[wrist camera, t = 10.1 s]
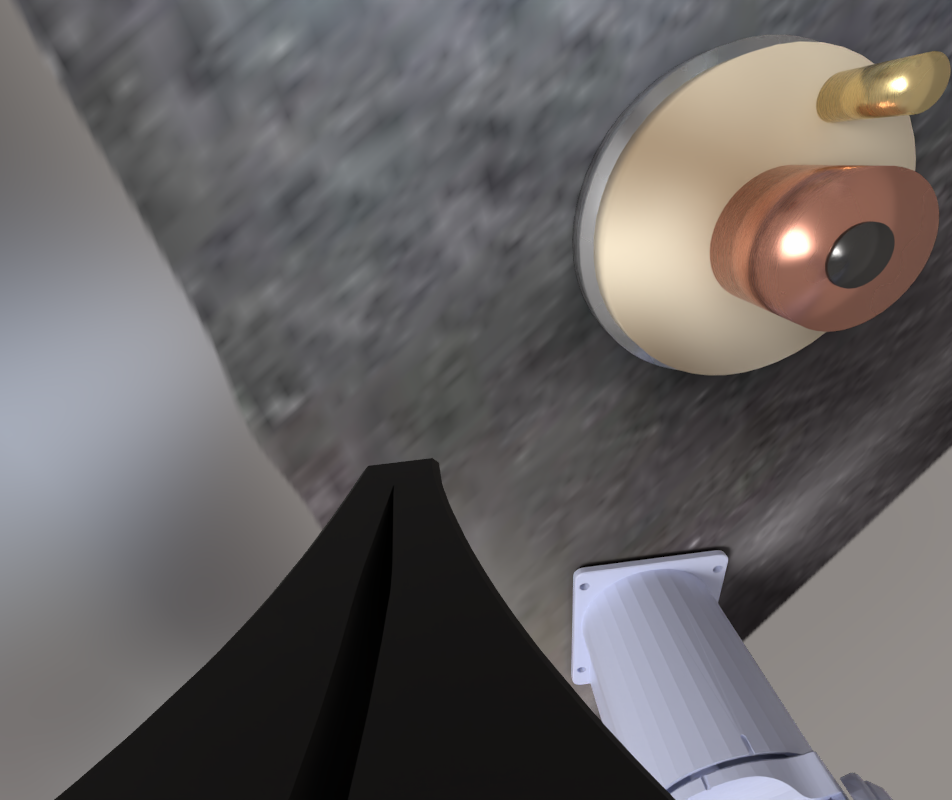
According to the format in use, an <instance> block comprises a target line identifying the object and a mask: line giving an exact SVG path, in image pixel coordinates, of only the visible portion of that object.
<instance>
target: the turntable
mask: <svg viewBox="0 0 952 800" xmlns="http://www.w3.org/2000/svg"><path fill="white" fill-rule="evenodd" d="M950 71H951V70H950V62H949V60H948V58H947V56H946V55H945V54H943V53H941V52H938V51H933V52H927V53H923V54H918V55H914V56H909V57H905V58H900V59H895V60H891V61H886V62H882V63H877V64H874V63H872V62H871V61H869V60H868V59H867V58H865V57H864V56H862V55H860V54H858V53H856V52H853V51H851V50H849V49H847V48H844V47H841V46H836V45H832V44H828V43H823V42H801V41H800V42H792V43H785V44H777V45H773V46H770V47H767V48H763V49H760V50H756V51H753V52H750V53H747V54H744V55H741V56H738V57H735V58H732V59H729V60H727V61H724V62H722V63H720V64H718V65H715V66H713V67H711V68H709V69H706V70H705V71H703V72H701V73H700V74H698V75H696V76H695V77H693V78H692V79H690V80H688V81H687V82H685V83H684V84H682V85H681V86H680V87H679V88H677V89H676V90H675V91H674V92H672V93H671V94H670V95H669V96H667V97H666V98H665V99H664V100H663V101H662V102H661V103H660V104H659V105H658V106H657V107H656V108H655V109H654V110H653V111H652V112H651V113H650V114H649V115H648V116H647V117H646V119H645V120H644V121H643V122H642V124H641V125H640V126H639V127H638V129H637V130H636V131H635V132H634V134H633V135H632V136H631V138H630V140H629V141H628V143H627V144H626V146H625V147H624V149H623V151H622V152H621V154H620V155H619V157H618V159H617V161H616V163H615V165H614V167H613V169H612V171H611V173H610V175H609V178H608V181H607V183H606V186H605V189H604V192H603V194H602V197H601V201H600V205H599V209H598V213H597V217H596V224H595V232H594V266H595V274H596V279H597V283H598V286H599V290H600V294H601V296H602V298H603V301H604V303H605V305H606V308H607V310H608V311H609V313H610V315H611V316H612V318H613V319H614V321H615V323H616V324H617V325H618V326H619V327H620V328H621V330H622V331H623V332H624V333H625V334H626V335H627V336H628V337H629V338H630V339H632V340H633V341H634V342H635V343H636V344H637V345H638V346H639V347H641V348H642V349H643V350H644V351H645V352H647V353H648V354H649V355H650V356H652V357H653V358H655V359H657V360H658V361H660V362H661V363H663V364H665V365H668V366H670V367H673V368H675V369H677V370H681V371H685V372H689V373H693V374H702V375H729V374H736V373H743V372H747V371H751V370H755V369H759V368H762V367H765V366H767V365H770V364H772V363H775V362H778V361H780V360H782V359H784V358H786V357H788V356H790V355H792V354H794V353H796V352H798V351H799V350H801V349H802V348H804V347H806V346H807V345H809V344H811V343H812V342H814V341H815V340H816V339H818V338H819V337H820V336H822V335H823V334H824V333H826V332H823V331H815V330H811V329H807V328H805V327H803V326H801V325H798V324H796V323H794V322H792V321H789V320H787V319H785V318H783V317H780V316H778V315H776V314H774V313H771V312H769V311H767V310H765V309H762V308H760V307H758V306H756V305H753V304H751V303H749V302H747V301H744V300H742V299H740V298H738V297H735V296H733V295H731V294H730V293H728V292H727V291H725V290H724V289H723V288H722V287H721V286H720V284H719V283H718V282H717V280H716V278H715V276H714V274H713V271H712V268H711V263H710V243H711V238H712V234H713V230H714V227H715V225H716V222H717V220H718V218H719V216H720V214H721V212H722V211H723V209H724V207H725V206H726V204H727V203H728V202H729V200H730V199H731V198H732V197H733V196H734V194H735V193H736V192H737V191H738V190H739V189H740V188H741V187H742V186H744V185H745V184H746V183H747V182H749V181H750V180H751V179H753V178H754V177H756V176H757V175H759V174H761V173H763V172H765V171H767V170H770V169H772V168H776V167H779V166H784V165H872V166H899V167H905V168H908V169H911V170H913V171H915V164H916V154H915V139H914V134H913V129H912V124H911V120H910V116H909V115H914V114H919V113H921V112H924V111H925V110H927V109H929V108H930V107H931V106H932V105H934V104H935V103H936V102H937V100H938V99H939V98H940V97H941V95H942V94H943V92H944V90H945V88H946V86H947V84H948V81H949V78H950Z"/></svg>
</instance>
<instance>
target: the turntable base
mask: <svg viewBox="0 0 952 800" xmlns="http://www.w3.org/2000/svg"><path fill="white" fill-rule="evenodd" d="M800 41H801V42H818V41H815V40H812V39H810V38H804V37H798V36H793V35H762V36H756V37H750V38H744V39H740V40H737V41H734V42H731V43H728V44H725V45H722V46H719V47H716V48H714V49H711V50H709V51H706V52H704V53H701V54H699V55H697V56H695V57H693V58H691V59H689V60H687V61H685V62H683V63H681V64H679V65H677V66H676V67H674V68H673V69H671V70H670V71H668V72H667V73H665V74H664V75H662V76H661V77H659V78H658V79H657V80H655V81H654V82H653V83H652V84H651V85H650V86H648V87H647V88H646V89H645V90H644V91H643V92H641V93H640V94H639V95H638V96H637V97H636V98H635V99H634V100H633V101H632V103H631V104H630V105H629V106H628V107H627V108H626V109H625V110H624V111H623V112H622V113H621V115H620V116H619V117H618V119H617V120H616V122H615V123H614V124H613V126H612V127H611V128H610V130H609V131H608V132H607V134H606V136H605V137H604V139H603V141H602V142H601V144H600V146H599V148H598V149H597V151H596V153H595V155H594V157H593V159H592V161H591V164H590V166H589V168H588V170H587V173H586V175H585V178H584V181H583V184H582V187H581V190H580V193H579V197H578V201H577V206H576V211H575V216H574V225H573V239H572V242H573V261H574V266H575V272H576V277H577V281H578V284H579V287H580V290H581V293H582V296H583V298H584V300H585V302H586V304H587V306H588V308H589V310H590V311H591V313H592V314H593V316H594V317H595V318H596V320H597V321H598V323H599V324H600V325H601V326H602V327H603V328H604V329H605V330H606V331H607V332H608V333H609V334H610V335H611V336H612V337H613V338H614V339H615V340H616V341H617V342H618V343H619V344H620V345H621V346H623V347H624V348H625V349H627V350H628V351H629V352H630V353H632V354H634V355H635V356H637V357H639V358H641V359H643V360H645V361H647V362H650V363H652V364H655V365H658V366H660V367H665V368H670V369H675V368H673V367H670V366H668V365H665V364H663V363H661V362H660V361H658V360H657V359H655V358H653V357H652V356H650V355H649V354H648V353H647V352H645V351H644V350H643V349H642V348H641V347H639V346H638V345H637V344H636V343H635V342H634V341H633V340H632V339H630V338H629V337H628V336H627V335H626V334H625V333H624V332H623V331H622V330H621V328H620V327H619V326H618V325H617V324H616V323H615V321H614V319H613V318H612V316H611V315H610V313H609V311H608V310H607V308H606V305H605V303H604V301H603V298H602V296H601V294H600V290H599V286H598V283H597V279H596V274H595V266H594V232H595V224H596V217H597V213H598V209H599V205H600V201H601V197H602V194H603V192H604V189H605V186H606V183H607V181H608V178H609V175H610V173H611V171H612V169H613V167H614V165H615V163H616V161H617V159H618V157H619V155H620V154H621V152H622V151H623V149H624V147H625V146H626V144H627V143H628V141H629V140H630V138H631V136H632V135H633V134H634V132H635V131H636V130H637V129H638V127H639V126H640V125H641V124H642V122H643V121H644V120H645V119H646V117H647V116H648V115H649V114H650V113H651V112H652V111H653V110H654V109H655V108H656V107H657V106H658V105H659V104H660V103H661V102H662V101H663V100H664V99H665V98H666V97H667V96H669V95H670V94H671V93H672V92H674V91H675V90H676V89H677V88H679V87H680V86H681V85H682V84H684V83H685V82H687V81H688V80H690V79H692V78H693V77H695V76H696V75H698V74H700V73H701V72H703V71H705V70H706V69H709V68H711V67H713V66H715V65H718V64H720V63H722V62H724V61H727V60H729V59H732V58H735V57H738V56H741V55H744V54H747V53H750V52H753V51H756V50H760V49H763V48H767V47H770V46H773V45H777V44H785V43H792V42H800ZM675 370H677V369H675Z"/></svg>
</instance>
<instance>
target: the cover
mask: <svg viewBox="0 0 952 800" xmlns="http://www.w3.org/2000/svg"><path fill="white" fill-rule="evenodd" d="M938 226H939V207H938V202H937V198H936V195H935V193H934V191H933V188H932V187H931V185H930V184H929V183H928V181H927V180H926V179H925V178H924V177H922V176H921V175H920V174H918V173H917V172H915V171H913V170H911V169H908V168H905V167H899V166H872V165H784V166H779V167H776V168H772V169H770V170H767V171H765V172H763V173H761V174H759V175H757V176H756V177H754V178H753V179H751V180H750V181H749V182H747V183H746V184H745V185H744V186H742V187H741V188H740V189H739V190H738V191H737V192H736V193H735V194H734V196H733V197H732V198H731V199H730V200H729V202H728V203H727V204H726V206H725V207H724V209H723V211H722V212H721V214H720V216H719V218H718V220H717V222H716V225H715V227H714V230H713V234H712V238H711V243H710V263H711V268H712V271H713V274H714V276H715V278H716V280H717V282H718V283H719V284H720V286H721V287H722V288H723V289H724V290H725V291H727V292H728V293H730V294H731V295H733V296H735V297H738V298H740V299H742V300H744V301H747V302H749V303H751V304H753V305H756V306H758V307H760V308H762V309H765V310H767V311H769V312H771V313H774V314H776V315H778V316H780V317H783V318H785V319H787V320H789V321H792V322H794V323H796V324H798V325H801V326H803V327H805V328H807V329H811V330H815V331H823V332H830V331H839V330H844V329H848V328H851V327H854V326H857V325H859V324H862V323H864V322H866V321H868V320H870V319H872V318H874V317H875V316H877V315H878V314H880V313H881V312H883V311H884V310H885V309H887V308H888V307H889V306H891V305H892V304H893V303H894V302H895V301H896V300H898V299H899V298H900V297H901V296H902V295H903V294H904V293H905V291H906V290H907V289H908V288H909V287H910V286H911V285H912V283H913V282H914V281H915V280H916V278H917V277H918V275H919V274H920V272H921V271H922V269H923V267H924V266H925V264H926V262H927V260H928V258H929V256H930V254H931V251H932V249H933V246H934V243H935V240H936V237H937V232H938Z"/></svg>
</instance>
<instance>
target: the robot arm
mask: <svg viewBox="0 0 952 800" xmlns="http://www.w3.org/2000/svg"><path fill="white" fill-rule="evenodd" d="M727 564H728V557H727V556H726V554H725V553H724V552H723V551H721V550H714V551H706V552H698V553H691V554H683V555H675V556H668V557H660V558H652V559H645V560H637V561H629V562H622V563H614V564H606V565H599V566H591V567H583V568H579V569H578V570H576V571H575V573H574V575H573V617H572V667H571V676H572V680H573V682H574V683H575V684H578V685H582V684H589V683H591V687H592V690H593V693H594V697H595V700H596V703H597V706H598V710H599V713H600V716H601V720H602V721H601V720H600V719H599V718H598V717H597V716H596V715H595V714H594V713H593V712H592V711H591V709H590V708H589V707H588V706H587V705H586V704H585V702H584V701H583V700H582V699H581V698H580V696H579V695H578V694H577V693H576V692H575V690H574V689H573V688H572V687H571V686H570V684H569V683H568V682H567V681H566V680H565V679H564V677H563V676H562V675H561V674H560V673H559V671H558V670H557V669H556V668H555V667H554V665H553V664H552V663H551V662H550V661H549V660H548V658H547V657H546V656H545V655H544V654H543V652H542V651H541V650H540V649H539V647H538V646H537V645H536V644H535V642H534V641H533V640H532V638H531V637H530V636H529V634H528V633H527V632H526V630H525V629H524V628H523V626H522V625H521V624H520V622H519V621H518V620H517V618H516V617H515V615H514V614H513V613H512V611H511V610H510V608H509V607H508V606H507V604H506V603H505V601H504V600H503V598H502V597H501V596H500V594H499V593H498V591H497V590H496V588H495V586H494V585H493V583H492V582H491V580H490V579H489V577H488V576H487V574H486V572H485V571H484V569H483V567H482V566H481V564H480V562H479V561H478V559H477V557H476V556H475V554H474V552H473V551H472V549H471V547H470V545H469V543H468V541H467V540H466V538H465V536H464V534H463V532H462V530H461V528H460V526H459V524H458V522H457V520H456V518H455V515H454V513H453V511H452V509H451V507H450V504H449V502H448V499H447V497H446V494H445V491H444V488H443V485H442V481H441V474H440V468H439V463H438V462H437V461H435V460H434V459H433V458H431V459H422V460H414V461H406V462H397V463H389V464H381V465H372V466H368V467H367V468H366V469H365V471H364V472H363V473H362V475H361V476H360V478H359V479H358V480H357V482H356V483H355V485H354V486H353V488H352V489H351V491H350V492H349V494H348V495H347V497H346V498H345V500H344V501H343V502H342V504H341V505H340V507H339V508H338V510H337V511H336V512H335V514H334V515H333V517H332V518H331V519H330V521H329V522H328V523H327V525H326V526H325V527H324V529H323V530H322V531H321V533H320V534H319V536H318V537H317V538H316V540H315V541H314V542H313V544H312V545H311V546H310V548H309V549H308V551H307V552H306V553H305V554H304V555H303V557H302V558H301V559H300V560H299V561H298V563H297V564H296V565H295V566H294V567H293V569H292V570H291V571H290V572H289V574H288V575H287V576H286V577H285V579H284V580H283V581H282V582H281V583H280V585H279V586H278V587H277V588H276V589H275V591H274V592H273V593H272V594H271V595H270V597H269V598H268V599H267V600H266V601H265V602H264V603H263V604H262V606H261V607H260V608H259V609H258V610H257V611H256V612H255V613H254V615H253V616H252V617H251V618H250V619H249V620H248V621H247V622H246V623H245V624H244V626H243V627H242V628H241V629H240V630H239V631H238V632H237V633H236V634H235V635H234V636H233V637H232V638H231V639H230V640H229V641H228V642H227V643H226V645H224V647H223V648H222V649H221V650H220V651H219V652H218V653H217V654H216V655H215V656H214V657H213V658H212V659H211V660H210V661H209V662H208V663H207V664H206V665H205V666H204V667H202V669H200V670H199V671H198V672H197V673H196V674H195V675H194V676H193V677H192V678H191V679H190V680H189V681H187V683H185V684H184V685H183V686H182V687H181V688H180V689H179V690H178V691H177V692H176V693H175V694H174V695H173V696H171V697H170V698H169V699H168V700H167V701H166V702H165V703H164V704H163V705H162V706H161V707H160V708H159V709H158V710H157V711H155V712H154V713H153V714H152V715H151V716H150V717H149V718H148V719H147V720H146V721H145V722H144V723H143V724H141V725H140V726H139V727H138V728H137V729H136V730H135V731H134V732H133V733H132V734H131V735H129V736H128V737H127V738H126V739H125V740H124V741H123V742H122V743H121V744H119V745H118V746H117V747H116V748H115V749H113V750H112V751H111V752H110V753H109V754H108V755H106V756H105V757H104V758H103V759H102V760H101V761H100V762H98V763H97V764H96V765H95V766H94V767H93V768H91V769H90V770H89V771H88V772H87V773H86V774H84V775H83V776H82V777H81V778H80V779H79V780H78V781H76V782H75V783H74V784H73V785H72V786H71V787H69V788H68V789H67V790H65V791H64V792H63V793H62V794H61V795H60V796H58V797H57V798H56V799H55V800H849V799H848V797H847V796H846V794H845V793H844V791H843V790H842V788H841V787H840V786H839V784H838V783H837V781H836V780H835V778H834V777H833V776H832V774H831V773H830V772H829V770H828V768H827V767H826V766H825V764H824V763H823V761H822V760H821V758H820V757H819V756H818V754H817V753H816V752H814V751H813V750H812V748H811V746H810V745H809V743H808V742H807V740H806V739H805V737H804V736H803V734H802V733H801V731H800V730H799V728H798V726H797V725H796V723H795V722H794V720H793V719H792V717H791V716H790V714H789V712H788V711H787V709H786V708H785V706H784V705H783V703H782V702H781V700H780V699H779V697H778V696H777V694H776V693H775V691H774V690H773V688H772V687H771V685H770V683H769V682H768V680H767V678H766V677H765V675H764V674H763V672H762V671H761V669H760V668H759V666H758V665H757V663H756V662H755V660H754V658H753V657H752V655H751V654H750V652H749V651H748V649H747V648H746V646H745V645H744V643H743V641H742V640H741V638H740V637H739V635H738V634H737V632H736V631H735V629H734V628H733V626H732V624H731V623H730V621H729V620H728V618H727V617H726V615H725V614H724V612H723V611H722V609H721V607H720V606H719V604H718V601H719V597H720V593H721V589H722V585H723V580H724V576H725V572H726V568H727ZM840 780H841V781H842V783H843V784H844V786H845V787H846V789H847V790H848V792H849V793H850V795H851V797H852V798H853V799H854V800H892V798H891V797H890V796H889V795H888V793H887V792H886V791H885V790H884V789H883V788H882V787H880V786H877V785H875V784H873V783H871V782H869V781H863V780H862V778H861V777H860V776H859V775H858V774H855V773H849V774H847V775H845V776H843V777H841V778H840Z"/></svg>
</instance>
